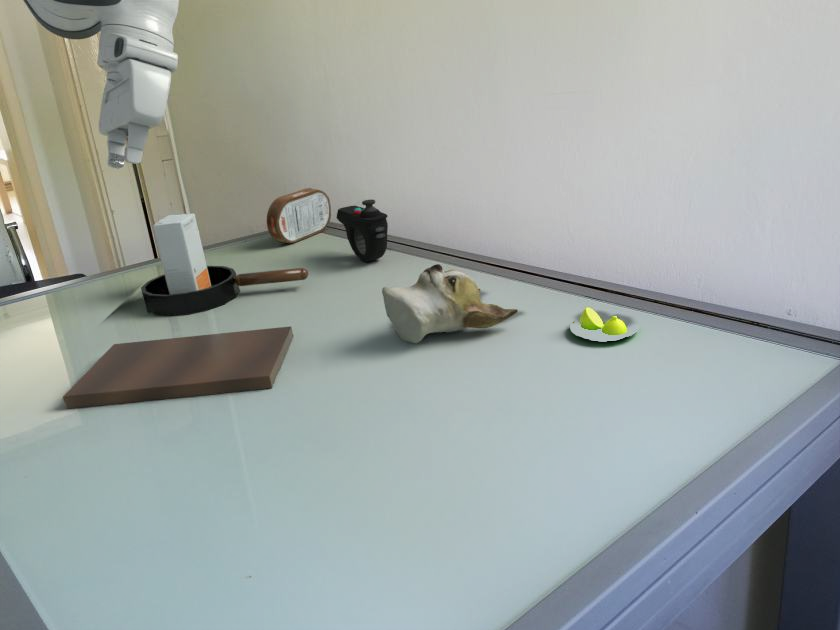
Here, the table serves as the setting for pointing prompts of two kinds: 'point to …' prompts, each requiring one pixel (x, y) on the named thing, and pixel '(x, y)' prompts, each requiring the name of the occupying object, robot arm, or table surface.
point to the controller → (365, 230)
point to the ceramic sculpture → (439, 305)
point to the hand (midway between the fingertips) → (123, 165)
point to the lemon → (594, 322)
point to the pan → (210, 290)
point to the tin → (298, 215)
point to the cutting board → (183, 367)
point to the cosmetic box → (181, 253)
